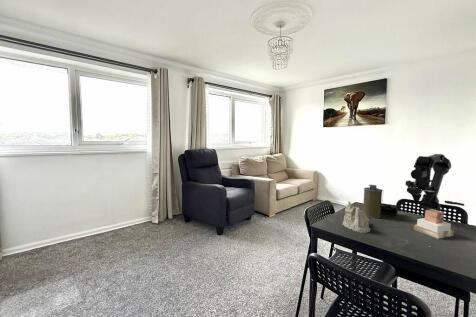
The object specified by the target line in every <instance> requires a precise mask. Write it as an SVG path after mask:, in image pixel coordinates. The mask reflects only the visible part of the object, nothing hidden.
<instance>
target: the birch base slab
mask: <svg viewBox="0 0 476 317" xmlns="http://www.w3.org/2000/svg"><path fill="white" fill-rule="evenodd" d="M413 230H414V231H416V232H418V233H419V232H420V233H422V234H424V235H427V236H429V237H433V238H435V239H437V240H439V239H444V238H448V237H453V236H454V234H455V233H454V232H455V231H454V229H451V228H450V230H448V231H443V232H434V231H432V230H429V229H426V228H423V227H420V226H417V223H416V224H414V225H413Z"/></svg>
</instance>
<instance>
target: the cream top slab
mask: <svg viewBox="0 0 476 317" xmlns="http://www.w3.org/2000/svg"><path fill="white" fill-rule="evenodd" d="M416 224H417V226H420V227H423V228H426V229H429V230H432V231H434V232H443V231H448V230H450V229H451V225H452V224H451V223H450V222H446V221H444V220H443V222H442V223H437V224H435V223H432V222H429V221H426V220H425V218H417V222H416Z"/></svg>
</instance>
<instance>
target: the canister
mask: <svg viewBox="0 0 476 317" xmlns="http://www.w3.org/2000/svg"><path fill="white" fill-rule="evenodd" d="M383 200H384V199H383V189H381V188H377V185H376V184H369V185H368V187H364V188H363V207H362V210H363V211H364V213H365V215H366V216H367V218H372V219H373V218H374V219H378V218H381V216H382V215H380V213H381V203H382V204H383V203H384V202H383Z"/></svg>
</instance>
